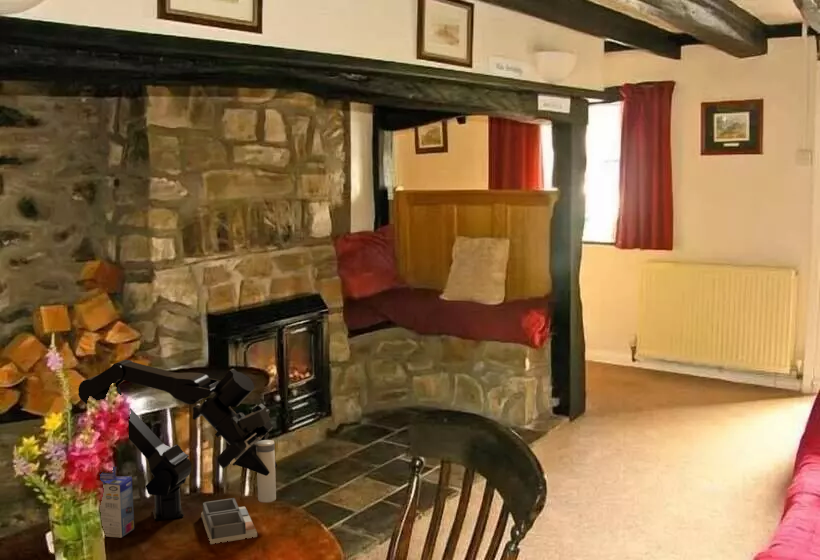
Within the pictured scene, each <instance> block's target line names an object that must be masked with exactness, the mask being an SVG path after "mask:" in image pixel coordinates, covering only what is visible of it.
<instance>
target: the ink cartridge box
mask: <svg viewBox="0 0 820 560" xmlns="http://www.w3.org/2000/svg"><path fill="white" fill-rule="evenodd" d="M112 467H113V470H112V471H111V472H112V473H107V472H106V473H105V472H104V471H103V472H102V473H101V474H100V473H99V475H100V480H101V481H102V482H103V488H104V493H103V497H102V501H101V505H100V512H101V520H102V526H103V529H104V531H105V535H106V536H105V537H109V538H120V539H121V538H123V537H125V536H126V535H129V533H131V532H132V531H134V530H135V514H134V496H133V495H134V494H133V478H132V476H126V475H125V476H123V475H122V476H121V475H117V466H112Z"/></svg>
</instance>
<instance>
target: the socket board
mask: <svg viewBox="0 0 820 560" xmlns="http://www.w3.org/2000/svg"><path fill="white" fill-rule="evenodd" d="M200 516H201V520H202V522H203V523H202V524H203V527H204V530H205V532H206V535H207V539H208V538H209V539H208V541H210V542H209V545H214V544H215V543H216V544H219V543H220V542H222V543H228V542H233V541H239V540H245V538H247V539H253V538H257V537H258V531H257V529H256V526H255V525H254V523H253V520H252V518H251V516H250V515H249V512H248V510H247V508H246V506H239V505H238V502H237V500H236V498H235V497H232V498H225V499H217V500H211V501H203V502H202V512H201V515H200ZM252 537H253V538H252ZM227 541H228V542H227ZM220 544H221V543H220Z"/></svg>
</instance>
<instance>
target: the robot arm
mask: <svg viewBox="0 0 820 560" xmlns="http://www.w3.org/2000/svg"><path fill="white" fill-rule="evenodd" d="M123 382H128V383H132V384H136V385H140V386H144V387H147V388H151V389H155V390H159V391H162V392H165V393H168V394H170V396H172V397H173V398H174V399H175V400H178V401H179V402H182V403H183V404H187V405H194V404H195V403H198V402H200V401H202V400H204V399H205V400H204V401H202V403H201V404H197V405H195V406H193V407H192V410H193V411H192V419H193V420H196V419H199V418H200V417H203V418H204V419H205V421H207V422H208V424H210V425H211V427H212V428H213V429H214V430H215V431H216V433H214V436H216V438H220V437H222V439H223V440H224V441H225V442H226V443H227V444H228V446H227V447H225V449H224V450H223V451H222V452H220V454H219V455H217V464H218V465H219V466H220V468H222V469H223V470H224V469H225V468H226V467H228V466H229V465H231V462H233V461H234V460H235V461H234V462H233V463H232V466H237V467H241V468H243V469H247V470H249V471H251V472H252V471H253V472H255V473H260V474H263V475H265V476H267V475H268V474H269V473H270V472H269V470H268V469H267V467H266V466H265V465H264V463H263V462H262V461H261V460H260V458H259V457H258V456H257V454H256V443H257V442H258V441H261V440H269V439H268V438H269V436H270V431H271V430H272V429H273V428H274V425H273V424H272V423H271V422H270V421H271V420H272V419H271V418H270V413H271V410H270V409H268V408H267V406H265V405H264V404H263V403H259V404H257V405H255V406H254V407H253V409H252V410H253V411H252V412H251V413H249V414H246V415H245V414H244V412H240V411H239V412H238V413H236V411H234V409H233V408H236V407H237V408H238V406H240V404H241V403H242V402H244V401H245V399H246V398H247V397H248V396H249V395H250V394H251V393H252V392H253V391H254V390H255V384H254V382H253V380H252V379H251V378H250V377H249V376H248V375H246V374H244V373H243V372H241V371H237V370H236V369H235V368H231V369H229V370H228V371H227V372H226V373H225V375H224V376H223V378H221V380H219V379H215V378H210V377H209V375H208V374H205V373H203V372H202V373H201V372H191V371H190V372H175V371H174V372H173V371H170V370H165V369H161V368H157V367H154V366H151V365H150V366H149V365H146V364H142V363H138V362H134V361H133V360H130V359H122V360H120V361H118V362H115V363H113V364H112V365H111V366H110V367H108V368H107V369H105V370H104V371H103V372H101V373H99V374H96V375H93V376H91V377H89V378H86V379H83V380H82V381H81V382H80V383H79V385H78V397H79V399H80V400H81V402H83V403H84V404H85V405H87V400H88V398H89V396H92V397H93V398H95V399H96V400H100V399H104V398H105V397H106V394H107V392H108V390H109V387H110V385H111V384H112V383H116V387H117V391H118V393H119V394H120V395H122V394H123V393H122V391H121V388H120V386H119V385H120V384H122V383H123ZM213 394H214V396H213V397H211V395H213ZM122 396H123V395H122ZM130 410H131V414H130V419H129V438H127V439H128V440H129V441H130V442H131V443H132V444H133V445H134V446H135V448H136V449H137V450H138V451H139V452H140V453H141V454H142V455H143V456H144V458H146V460H147V463H148V466H149V470H150V473H151V474H152V476H153V477H152V479H151V480H149V482H147V484H146V485H145V489H146V491H147V494H148V495H150V496H154V508H152V514H153V519H154V522H155V521H156V522H158V521H164V520H170V519H171V520H172V519H178V518H184V517H185V512H184V510H183V507H182V505H181V489H180V487H181V485H183V484H185V483H186V480H187V478H188V477H189V476H190V475H191V472H192V462H191V460H190V459H189V457H190V455H189V454H187V453H186V452H184V451H183V449H182V448H181V447H180V445H178V443H177V444H174V445H173V446H168V445H166V444H165V443H164V442H162V440H161V439H160V438H159V437H158V436H157V435H156V434H155V433H154V432H153V431H152V430H151V429H150V427H149V426H148V425H147V424H146V423H145V422H144V421H143V420H142V419H141V417H140V416H138V414H136V412H135V411H134V410H133V409H132V408H131V407H130ZM277 467H278V464H277V462H276V461H275V469H277Z"/></svg>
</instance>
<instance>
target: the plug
mask: <svg viewBox="0 0 820 560" xmlns="http://www.w3.org/2000/svg"><path fill="white" fill-rule="evenodd" d="M275 446H276V445H275V441H274V440H271V439H268V440H261V441H258V442H257V443H256V454H257V456H258V457H259V458H260V460H261V461H262V462H263V463H264V465H265V466H266V467H267V469H268V470H269V472H270V473H269V474H268V475H267V476H265V475H263V474H260V473H257V472H256V473H257V474H256V477H257V483H256V484H257V500H258V501H259V502H260V503H272V502H274V501H276V499H277V488H276V487H277V484H276V481H277V480H276V468H275V462H276V455H275V454H276V452H275V450H276V449H275V448H276V447H275Z"/></svg>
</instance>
